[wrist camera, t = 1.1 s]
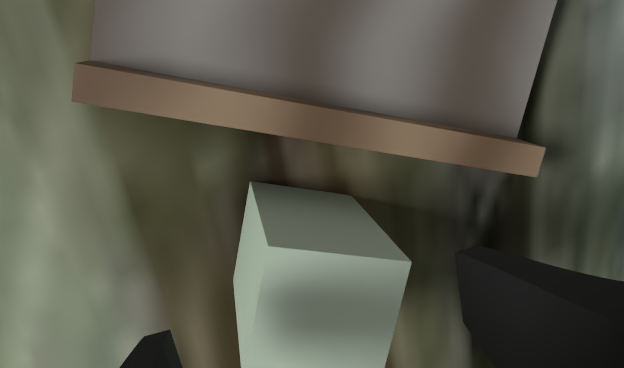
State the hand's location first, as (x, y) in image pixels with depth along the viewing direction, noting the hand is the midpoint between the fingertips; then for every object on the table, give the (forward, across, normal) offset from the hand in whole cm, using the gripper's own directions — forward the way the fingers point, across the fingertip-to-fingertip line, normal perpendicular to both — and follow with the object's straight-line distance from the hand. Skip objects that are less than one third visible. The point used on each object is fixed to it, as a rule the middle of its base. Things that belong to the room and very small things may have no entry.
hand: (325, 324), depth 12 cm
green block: (+10, 0, +2) cm, 10 cm away
